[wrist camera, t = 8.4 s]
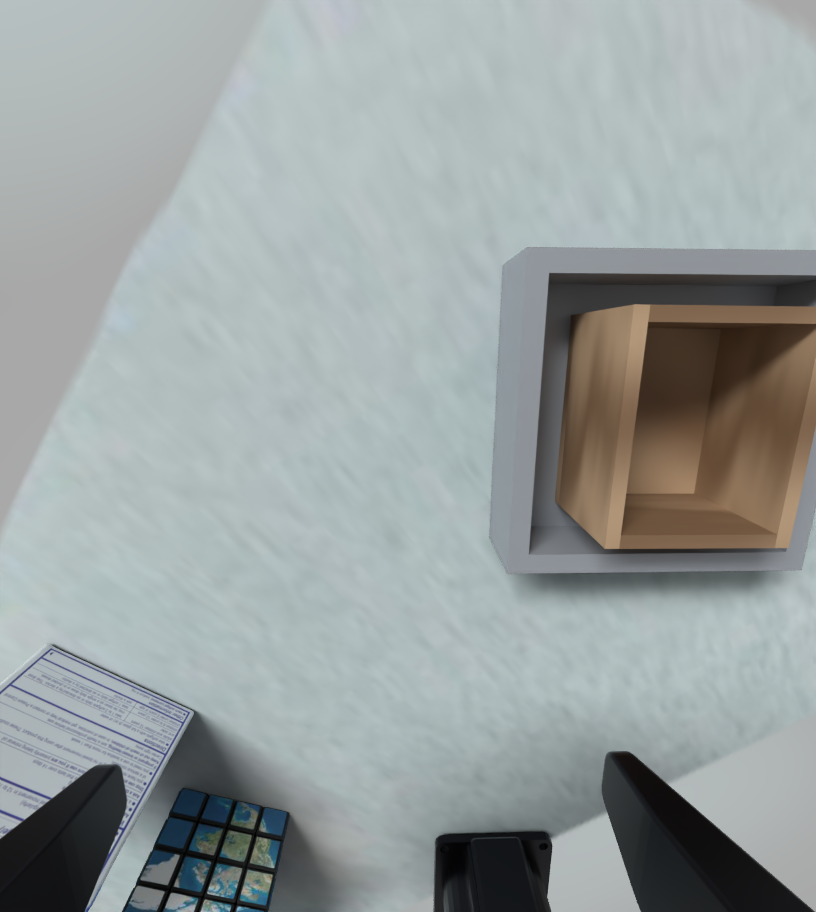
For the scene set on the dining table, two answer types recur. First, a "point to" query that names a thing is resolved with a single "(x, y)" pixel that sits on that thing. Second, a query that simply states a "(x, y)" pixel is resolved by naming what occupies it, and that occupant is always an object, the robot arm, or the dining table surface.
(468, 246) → the dining table surface
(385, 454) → the dining table surface
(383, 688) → the dining table surface
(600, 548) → the grey crate
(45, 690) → the medicine box
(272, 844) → the puzzle
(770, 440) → the walnut crate
